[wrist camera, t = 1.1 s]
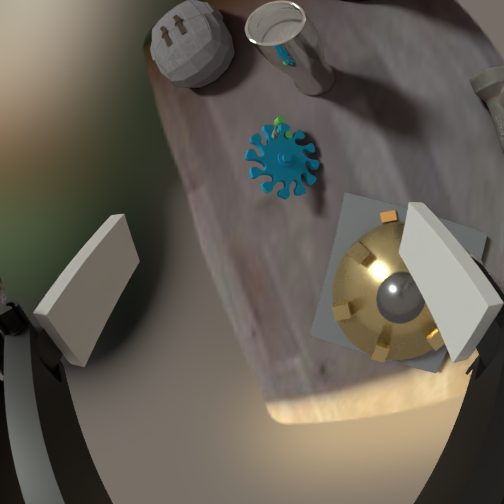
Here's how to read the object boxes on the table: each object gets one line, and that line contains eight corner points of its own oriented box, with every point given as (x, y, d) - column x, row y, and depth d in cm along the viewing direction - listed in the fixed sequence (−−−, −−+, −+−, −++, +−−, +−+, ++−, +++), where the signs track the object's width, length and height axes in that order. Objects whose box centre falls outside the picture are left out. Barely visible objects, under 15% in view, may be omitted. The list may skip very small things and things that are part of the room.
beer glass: (317, 107, 35) (276, 57, 21) (282, 82, 36) (230, 33, 23) (347, 74, 32) (322, 12, 18) (311, 51, 33) (271, -8, 20)
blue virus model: (322, 201, 35) (246, 192, 32) (300, 206, 40) (233, 200, 37) (320, 122, 35) (250, 107, 31) (300, 136, 40) (237, 125, 37)
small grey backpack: (161, 45, 45) (186, 109, 44) (133, 32, 38) (152, 97, 37) (217, 3, 38) (256, 60, 37) (192, -18, 31) (229, 37, 30)
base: (346, 193, 35) (344, 192, 33) (483, 233, 27) (488, 234, 25) (311, 331, 40) (308, 336, 38) (434, 367, 32) (436, 374, 30)
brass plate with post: (353, 206, 33) (333, 204, 20) (476, 242, 26) (527, 264, 13) (321, 330, 37) (283, 389, 24) (432, 363, 30) (442, 434, 17)
